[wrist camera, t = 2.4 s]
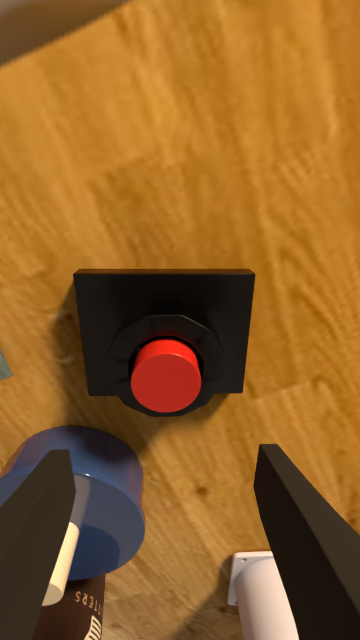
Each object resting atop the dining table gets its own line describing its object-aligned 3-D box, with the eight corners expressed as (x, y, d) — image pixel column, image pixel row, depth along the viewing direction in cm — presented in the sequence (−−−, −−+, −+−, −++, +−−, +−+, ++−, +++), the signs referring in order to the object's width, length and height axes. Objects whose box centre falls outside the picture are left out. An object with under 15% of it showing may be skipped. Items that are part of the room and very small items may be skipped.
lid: (143, 452, 18) (136, 524, 14) (148, 560, 22) (144, 639, 18) (-38, 457, 18) (-98, 533, 14) (2, 566, 22) (-36, 649, 18)
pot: (140, 424, 21) (136, 465, 18) (145, 517, 25) (142, 566, 22) (-3, 427, 21) (-36, 470, 17) (24, 522, 25) (2, 572, 21)
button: (198, 337, 16) (202, 352, 14) (196, 392, 17) (199, 412, 16) (132, 337, 16) (128, 353, 14) (135, 393, 17) (132, 413, 15)
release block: (250, 268, 17) (266, 281, 14) (238, 386, 20) (249, 415, 18) (78, 268, 17) (61, 282, 14) (93, 388, 20) (81, 418, 17)
